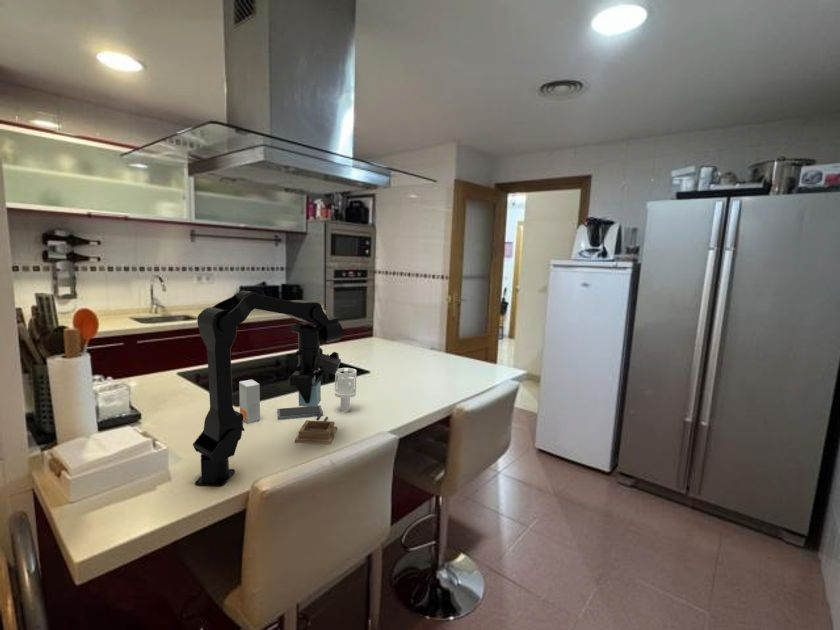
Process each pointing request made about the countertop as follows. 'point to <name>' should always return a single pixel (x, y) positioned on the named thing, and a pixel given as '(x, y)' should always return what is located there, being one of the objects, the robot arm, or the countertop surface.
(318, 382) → the blue drawer box
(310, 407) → the phone
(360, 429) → the countertop surface
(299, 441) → the dock
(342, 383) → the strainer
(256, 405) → the skincare box
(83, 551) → the countertop surface
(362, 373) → the countertop surface
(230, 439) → the robot arm
